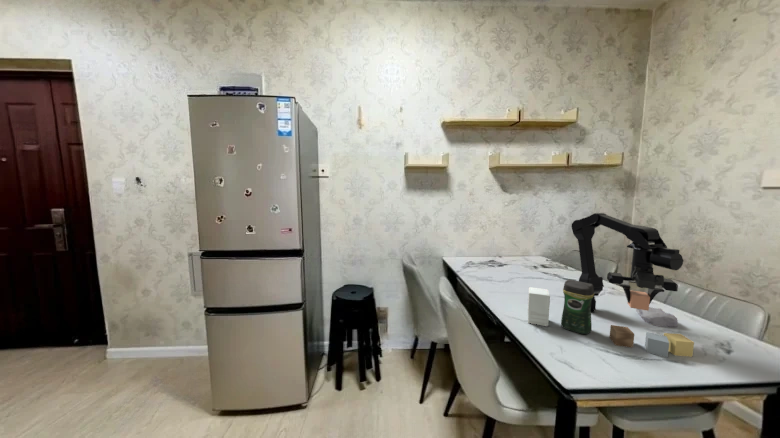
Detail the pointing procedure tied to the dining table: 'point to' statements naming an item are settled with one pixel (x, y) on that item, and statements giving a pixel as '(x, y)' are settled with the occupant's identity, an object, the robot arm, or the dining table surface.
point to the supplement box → (538, 306)
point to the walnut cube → (621, 336)
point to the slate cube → (657, 344)
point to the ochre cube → (680, 345)
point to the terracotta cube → (639, 300)
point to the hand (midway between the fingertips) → (637, 303)
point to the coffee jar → (577, 306)
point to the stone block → (658, 317)
